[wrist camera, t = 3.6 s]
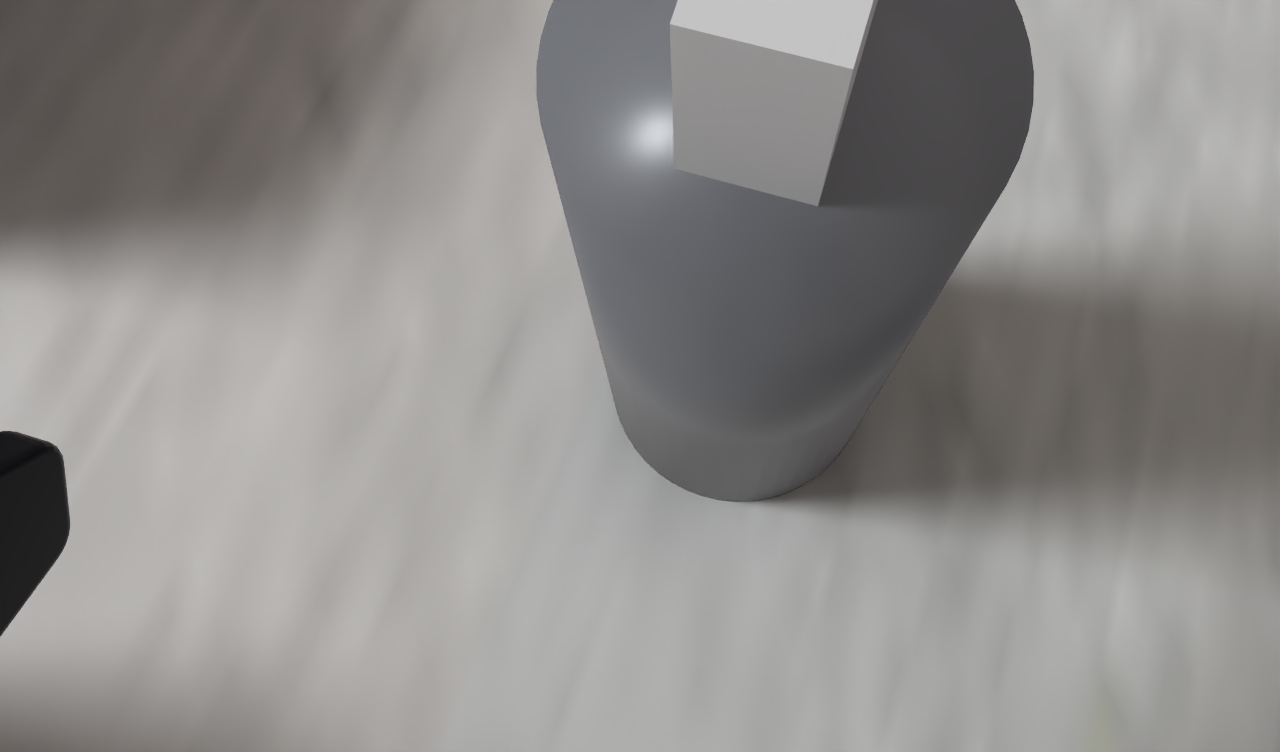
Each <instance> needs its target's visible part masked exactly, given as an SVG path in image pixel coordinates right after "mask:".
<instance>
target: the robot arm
mask: <svg viewBox="0 0 1280 752" xmlns="http://www.w3.org/2000/svg"><path fill="white" fill-rule="evenodd" d="M69 530H70V515H69V506H68V496H67V487H66V477H65V468H64V460H63V456H62V454H61V452H60V451H59V449H58V448H57V446H55V445H53V444H52V443H50V442H47V441H44V440H41V439H38V438H34V437H31V436H28V435H25V434H21V433H18V432H12V431H2V432H0V636H1V635H2V634H3V632H4V631H5V630H6V628H7V627H8V626H9V624H10V623H11V621H12V620H13V619H14V617H15V616H16V615H17V613H18V612H19V611H20V609H21V608H22V606H23V605H24V604H25V602H26V601H27V600H28V598H29V597H30V596H31V594H32V593H33V591H34V590H35V589H36V587H37V586H38V585H39V583H40V582H41V581H42V579H43V578H44V576H45V575H46V574H47V572H48V571H49V570H50V568H51V567H52V566H53V564H54V563H55V562H56V560H57V559H58V557H59V556H60V554H61V553H62V551H63V549H64V547H65V545H66V542H67V539H68V536H69Z"/></svg>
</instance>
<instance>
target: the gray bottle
mask: <svg viewBox="0 0 1280 752" xmlns="http://www.w3.org/2000/svg"><path fill="white" fill-rule="evenodd" d="M1033 84H1034V71H1033V64H1032V57H1031V49H1030V43H1029V39H1028V36H1027V32H1026V29H1025V25H1024V22H1023V19H1022V15H1021V13H1020V11H1019V9H1018V6H1017V4H1016V2H1015V0H554V1H553V3H552V5H551V8H550V10H549V12H548V16H547V19H546V22H545V26H544V29H543V33H542V36H541V40H540V47H539V54H538V61H537V101H538V108H539V114H540V121H541V126H542V130H543V134H544V137H545V141H546V145H547V149H548V152H549V156H550V160H551V164H552V168H553V171H554V175H555V179H556V183H557V186H558V190H559V194H560V198H561V202H562V205H563V209H564V213H565V217H566V220H567V224H568V228H569V232H570V236H571V239H572V243H573V247H574V251H575V255H576V258H577V262H578V266H579V270H580V273H581V277H582V281H583V285H584V289H585V292H586V296H587V300H588V304H589V307H590V311H591V315H592V319H593V323H594V326H595V330H596V334H597V338H598V341H599V345H600V349H601V353H602V357H603V360H604V364H605V368H606V372H607V376H608V379H609V383H610V387H611V391H612V394H613V398H614V402H615V406H616V409H617V412H618V416H619V419H620V422H621V424H622V426H623V428H624V431H625V433H626V435H627V437H628V438H629V440H630V441H631V443H632V445H633V446H634V448H635V449H636V450H637V452H638V453H639V454H640V455H641V456H642V458H643V459H644V460H645V461H646V462H647V463H648V464H649V465H650V466H651V467H652V468H653V469H654V470H655V471H657V472H658V473H659V474H660V475H662V476H663V477H665V478H666V479H668V480H669V481H670V482H672V483H674V484H676V485H678V486H679V487H681V488H683V489H685V490H687V491H690V492H693V493H695V494H698V495H701V496H704V497H709V498H713V499H717V500H726V501H755V500H761V499H767V498H772V497H775V496H778V495H782V494H785V493H787V492H789V491H792V490H794V489H796V488H798V487H801V486H802V485H804V484H805V483H807V482H809V481H810V480H812V479H813V478H815V477H816V476H817V475H819V474H820V473H821V472H822V471H823V470H825V469H826V468H827V467H828V466H829V465H830V464H831V463H832V462H833V461H834V460H835V458H836V457H837V456H838V455H839V454H840V452H841V451H842V450H843V448H844V447H845V445H846V444H847V442H848V441H849V439H850V438H851V436H852V434H853V433H854V431H855V429H856V428H857V426H858V425H859V423H860V421H861V420H862V418H863V417H864V415H865V413H866V412H867V410H868V408H869V407H870V405H871V404H872V402H873V400H874V399H875V397H876V395H877V394H878V392H879V391H880V389H881V387H882V386H883V384H884V383H885V381H886V379H887V378H888V376H889V374H890V373H891V371H892V370H893V368H894V366H895V365H896V363H897V361H898V360H899V358H900V357H901V355H902V353H903V352H904V350H905V349H906V347H907V345H908V344H909V342H910V340H911V339H912V337H913V336H914V334H915V332H916V331H917V329H918V327H919V326H920V324H921V323H922V321H923V319H924V318H925V316H926V315H927V313H928V311H929V310H930V308H931V306H932V305H933V303H934V302H935V300H936V298H937V297H938V295H939V293H940V292H941V290H942V289H943V287H944V285H945V284H946V282H947V281H948V279H949V277H950V276H951V274H952V272H953V271H954V269H955V268H956V266H957V264H958V263H959V261H960V259H961V258H962V256H963V255H964V253H965V251H966V250H967V248H968V247H969V245H970V243H971V242H972V240H973V238H974V237H975V235H976V234H977V232H978V230H979V229H980V227H981V225H982V224H983V222H984V221H985V219H986V217H987V216H988V214H989V213H990V211H991V209H992V208H993V206H994V204H995V203H996V201H997V200H998V198H999V196H1000V195H1001V193H1002V191H1003V190H1004V188H1005V187H1006V185H1007V183H1008V181H1009V179H1010V177H1011V175H1012V173H1013V171H1014V169H1015V167H1016V165H1017V163H1018V161H1019V158H1020V155H1021V152H1022V149H1023V146H1024V143H1025V140H1026V137H1027V134H1028V130H1029V124H1030V118H1031V112H1032V106H1033Z"/></svg>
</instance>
